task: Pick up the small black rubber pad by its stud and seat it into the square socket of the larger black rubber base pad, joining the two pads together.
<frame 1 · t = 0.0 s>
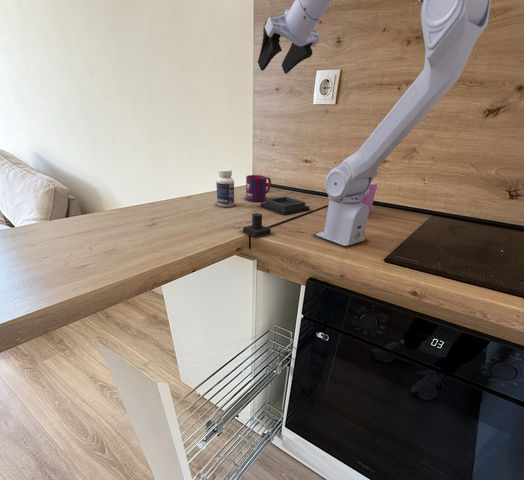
hand: (272, 68, 72), 32 cm above the countertop, tool tilted 50°, fingers open, 7 cm apart
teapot: (345, 212, 97), on the countertop
pill bottle: (225, 205, 97), on the countertop
base pad: (284, 208, 97), on the countertop
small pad: (256, 232, 77), on the countertop
mug: (259, 199, 105), on the countertop
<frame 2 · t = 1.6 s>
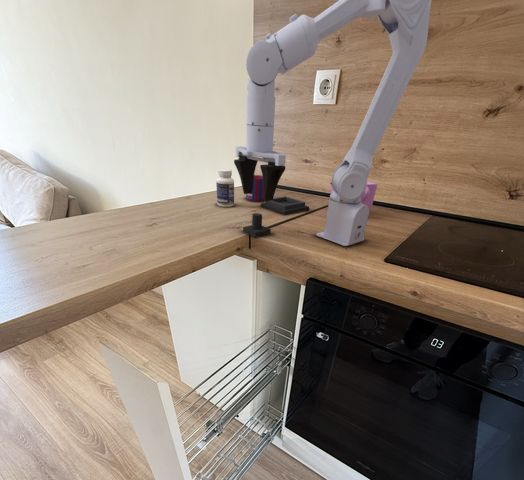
hand: (257, 196, 72), 8 cm above the countertop, tool pointing down, fingers open, 7 cm apart
nothing on the countertop moved.
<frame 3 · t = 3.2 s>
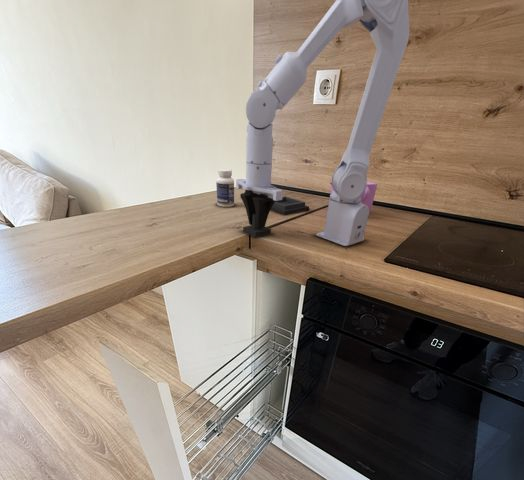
hand: (256, 225, 76), 2 cm above the countertop, tool pointing down, fingers closed on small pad, 2 cm apart
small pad: (256, 232, 77), on the countertop, touching gripper
everything else where it was.
when the fingers open (3 cm above the countertop, at t = 7.4 s): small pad stays where it is, resting on base pad.
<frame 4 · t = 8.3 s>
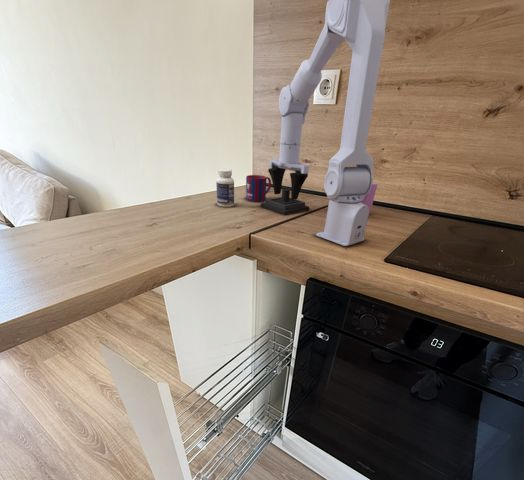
hand: (285, 196, 95), 3 cm above the countertop, tool pointing down, fingers open, 7 cm apart
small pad: (284, 204, 96), point 1 cm above the countertop, touching base pad
everything else where it was.
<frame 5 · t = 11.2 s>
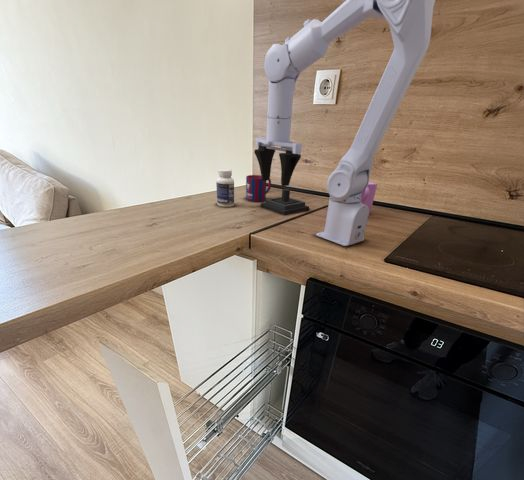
hand: (275, 182, 80), 9 cm above the countertop, tool pointing down, fingers open, 7 cm apart
nothing on the countertop moved.
at the end: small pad 0.1 cm off-centre on the base pad, point 1.0 cm above the base pad's base; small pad tilted 0°; the gripper is holding nothing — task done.
